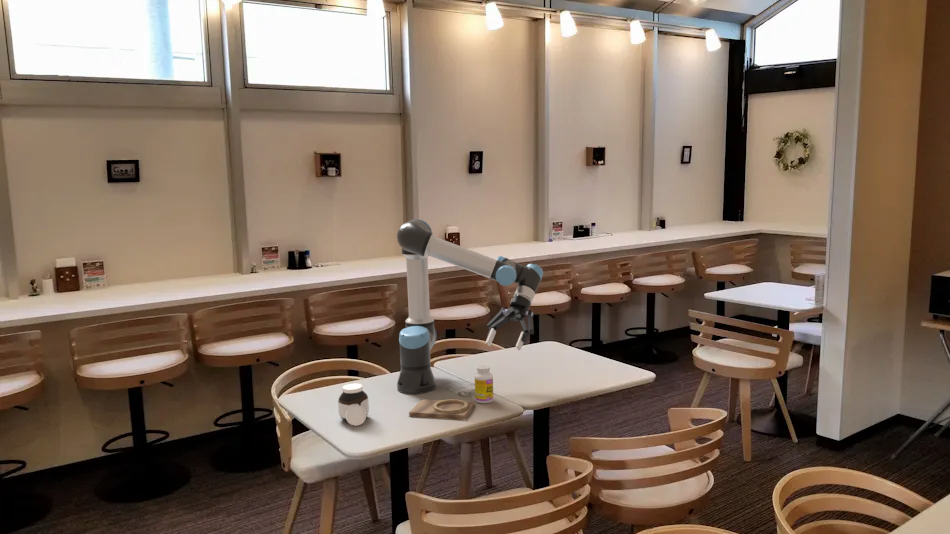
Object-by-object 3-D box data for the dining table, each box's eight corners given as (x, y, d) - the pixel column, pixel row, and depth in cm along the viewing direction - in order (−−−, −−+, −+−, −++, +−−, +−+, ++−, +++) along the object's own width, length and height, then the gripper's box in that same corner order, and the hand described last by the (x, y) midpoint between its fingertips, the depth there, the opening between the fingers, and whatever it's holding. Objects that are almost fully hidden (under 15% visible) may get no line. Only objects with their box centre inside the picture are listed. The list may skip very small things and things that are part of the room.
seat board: (409, 416, 253) (408, 409, 253) (422, 403, 267) (421, 396, 266) (464, 419, 248) (464, 412, 248) (475, 406, 262) (474, 399, 261)
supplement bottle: (487, 405, 262) (486, 370, 261) (471, 402, 266) (470, 368, 264) (496, 399, 268) (495, 365, 266) (481, 397, 271) (480, 363, 270)
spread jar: (357, 412, 259) (356, 380, 257) (379, 418, 252) (378, 386, 250) (331, 422, 250) (329, 389, 248) (353, 429, 243) (351, 395, 241)
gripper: (553, 307, 279) (535, 355, 269) (499, 303, 294) (480, 347, 284) (546, 296, 274) (526, 344, 264) (491, 292, 289) (471, 337, 279)
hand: (502, 346), depth 274 cm, fingers open, 13 cm apart
